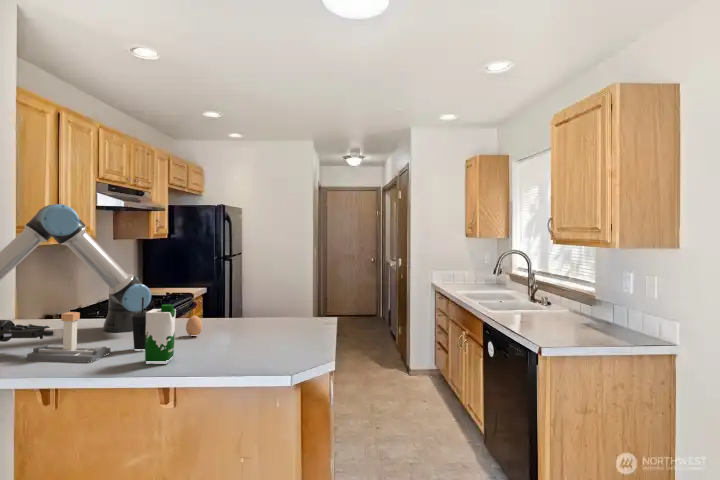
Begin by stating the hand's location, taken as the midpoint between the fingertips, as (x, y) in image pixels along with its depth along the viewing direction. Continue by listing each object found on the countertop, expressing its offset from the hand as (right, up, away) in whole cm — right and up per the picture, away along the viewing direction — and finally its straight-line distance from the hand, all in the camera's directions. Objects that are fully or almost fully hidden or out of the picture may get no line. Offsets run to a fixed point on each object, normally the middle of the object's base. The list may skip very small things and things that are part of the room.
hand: (63, 333), depth 165 cm
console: (+2, -8, +1) cm, 9 cm away
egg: (+32, -9, +37) cm, 50 cm away
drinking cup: (+21, -9, +13) cm, 26 cm away
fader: (+1, -6, +1) cm, 6 cm away
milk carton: (+34, -10, -1) cm, 35 cm away
